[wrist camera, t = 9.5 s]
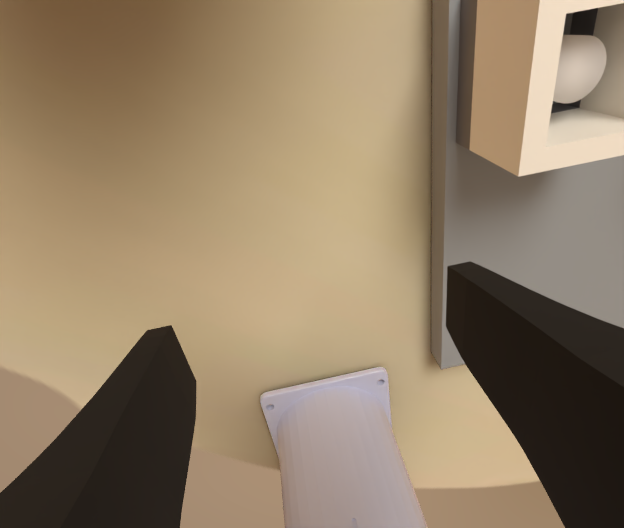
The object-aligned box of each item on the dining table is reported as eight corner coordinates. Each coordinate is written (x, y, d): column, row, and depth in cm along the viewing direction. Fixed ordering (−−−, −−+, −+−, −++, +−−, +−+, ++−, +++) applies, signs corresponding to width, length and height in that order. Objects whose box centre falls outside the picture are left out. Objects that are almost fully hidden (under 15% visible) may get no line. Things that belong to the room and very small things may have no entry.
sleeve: (573, 119, 17) (668, 145, 13) (455, 142, 17) (518, 176, 13) (600, -31, 14) (731, -53, 10) (460, -5, 14) (541, -18, 10)
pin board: (671, 298, 26) (745, 345, 22) (431, 352, 25) (464, 410, 21) (835, -118, 15) (1033, -165, 11) (432, -45, 15) (499, -72, 11)
